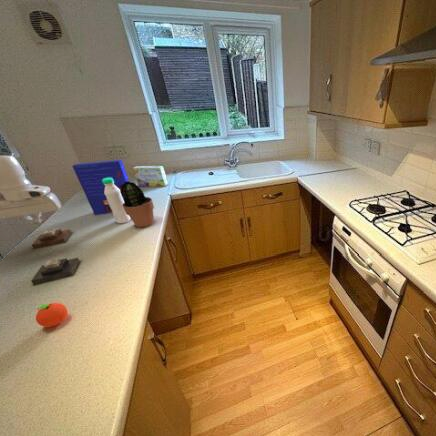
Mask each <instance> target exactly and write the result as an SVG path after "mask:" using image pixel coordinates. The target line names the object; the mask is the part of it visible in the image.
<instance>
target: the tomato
mask: <svg viewBox="0 0 436 436" xmlns="http://www.w3.org/2000/svg"><path fill="white" fill-rule="evenodd" d="M67 315H68V308H67V307H66V305H65V304H63V303H61V302H51V303H47V304H42V305H40V306H39V307H38V308H37V313H36V314H35V321H36V323H37V324H38V326H41V327H44V328H50V327H55V326H57V325H59V324H61V323H62V322H63V321H64V320H65V319H66V317H67Z"/></svg>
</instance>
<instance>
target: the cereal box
mask: <svg viewBox="0 0 436 436" xmlns="http://www.w3.org/2000/svg"><path fill="white" fill-rule="evenodd" d="M72 169H73V171H74V173H75V175H76V178H77V179H78V182H79V184H80V186H81V189H82V191H83V192H84V195H85V197H86V199H87V201H88V203H89V206H90V208H91V210H92V212H93V214H94V216H96V215H97V216H98V215H103V214H111V213H113V212H112V210H111V208H110V205H109V203H108V201H107V198H106V195H105V194H104V190H105V185H104V184H103V182H102V179H104V178H113V180H114V185H116V186H117V187H118V188H119V189H120V193H121V185H123V184H124V183H125V182H127V181H128V182H130V180H129V177H128V174H127V171H126V168H125V166H124V163H123V160H122V159H111V160H109V159H108V160H99V161H89V162H79V163H75V164H73V165H72Z"/></svg>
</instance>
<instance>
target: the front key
mask: <svg viewBox="0 0 436 436" xmlns="http://www.w3.org/2000/svg"><path fill="white" fill-rule="evenodd" d="M60 263H61V258H54V259H52V260H47V262H45V264H46V265H45V264H44V265H45V268H46V269H49V268H54V267H58V266H59V265H60Z"/></svg>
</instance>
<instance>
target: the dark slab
mask: <svg viewBox="0 0 436 436" xmlns="http://www.w3.org/2000/svg"><path fill="white" fill-rule="evenodd" d="M60 260H61V263H60V265H59V266H58V267H54V268H49V269H46V268H45V265H46V263H45V264H43V265H41V266H40V268H39V269H38V271H37V272H36V273H35V274H34V276H33V277H32V279H31V280H30V282H31V283H32V284H33V286H37V285H39V284H44V283H48V282H52V281H57V280H60V279H65V278H69V277H72V276H74V274H75V272H76V270H77V269H78V267H79V265H80V263H81V261H80V258H79V257H74V258H70V259H69V258H67V257H65V258H60Z"/></svg>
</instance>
